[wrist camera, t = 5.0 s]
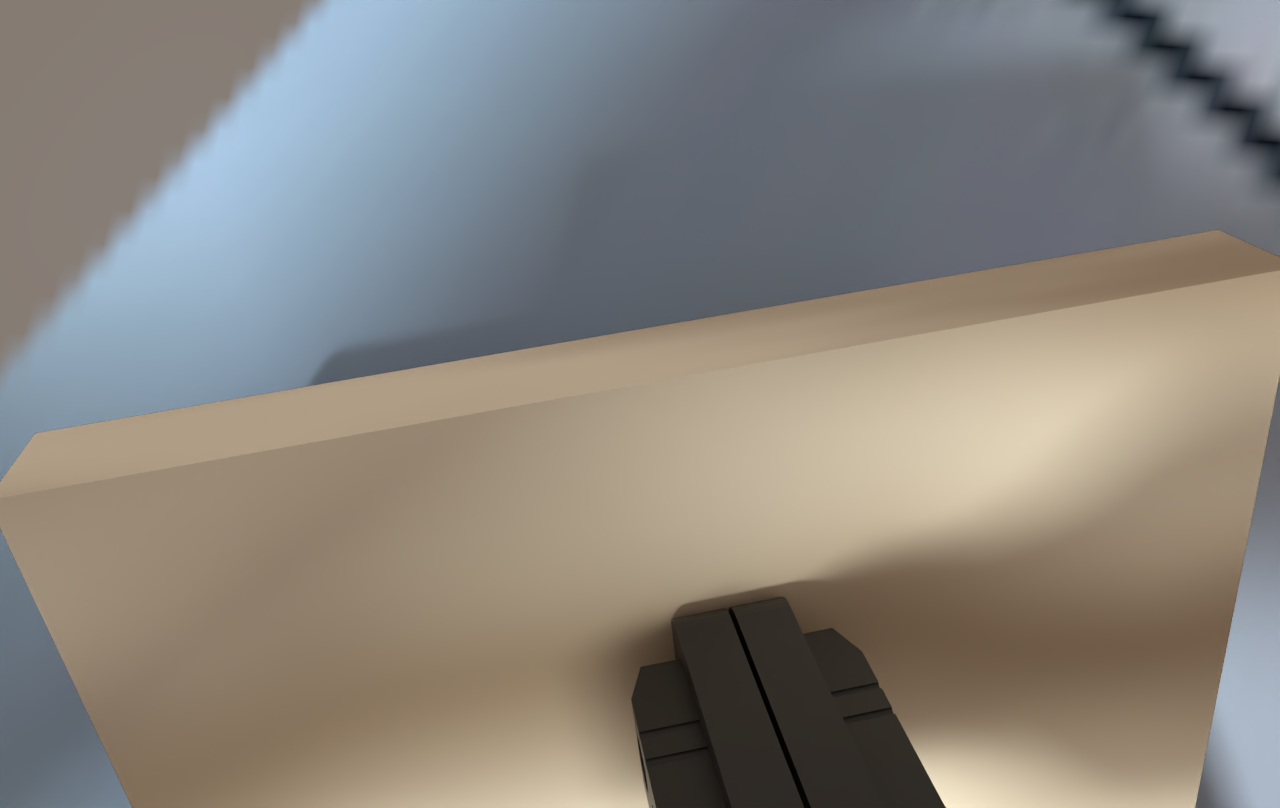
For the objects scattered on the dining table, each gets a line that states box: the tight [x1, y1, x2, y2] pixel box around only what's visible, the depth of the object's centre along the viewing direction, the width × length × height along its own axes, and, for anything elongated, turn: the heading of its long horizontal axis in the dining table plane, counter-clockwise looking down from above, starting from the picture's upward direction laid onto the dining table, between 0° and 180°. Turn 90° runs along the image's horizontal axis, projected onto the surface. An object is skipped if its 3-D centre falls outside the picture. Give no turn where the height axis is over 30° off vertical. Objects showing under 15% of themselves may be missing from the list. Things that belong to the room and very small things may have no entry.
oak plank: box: [0, 230, 1280, 808], centre depth 14 cm, size 10×15×2 cm
